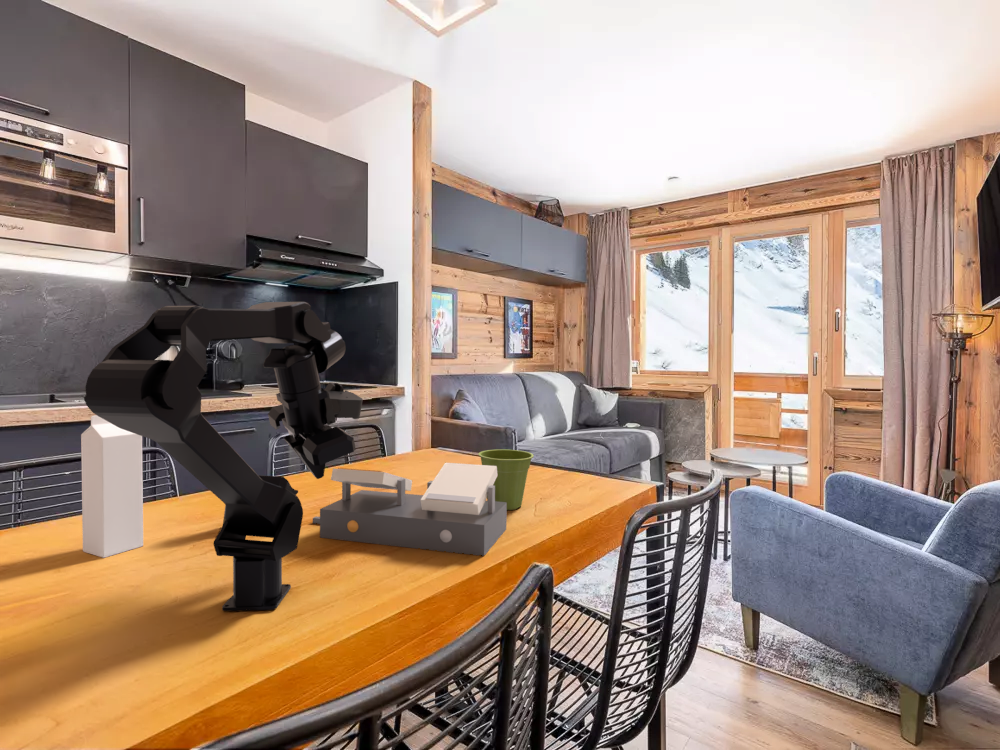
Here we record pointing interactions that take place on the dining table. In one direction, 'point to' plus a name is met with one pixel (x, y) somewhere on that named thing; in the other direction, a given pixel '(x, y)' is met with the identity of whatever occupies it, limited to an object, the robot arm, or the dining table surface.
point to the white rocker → (459, 488)
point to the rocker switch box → (411, 522)
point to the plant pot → (508, 474)
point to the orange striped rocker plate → (368, 478)
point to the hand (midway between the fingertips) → (319, 477)
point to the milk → (111, 489)
